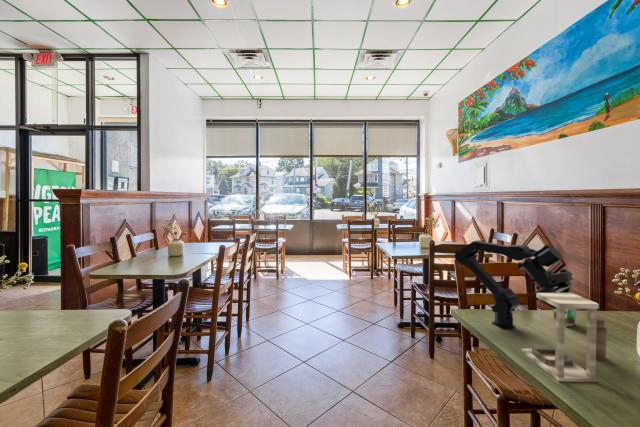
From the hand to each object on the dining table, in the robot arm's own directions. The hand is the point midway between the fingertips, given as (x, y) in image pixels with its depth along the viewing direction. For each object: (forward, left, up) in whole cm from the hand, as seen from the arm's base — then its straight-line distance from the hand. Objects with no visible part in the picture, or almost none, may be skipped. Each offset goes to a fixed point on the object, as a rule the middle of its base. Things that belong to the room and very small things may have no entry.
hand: (570, 310), depth 111 cm
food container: (-18, +19, -14) cm, 29 cm away
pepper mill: (+7, +2, -14) cm, 16 cm away
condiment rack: (+9, -16, -14) cm, 23 cm away
